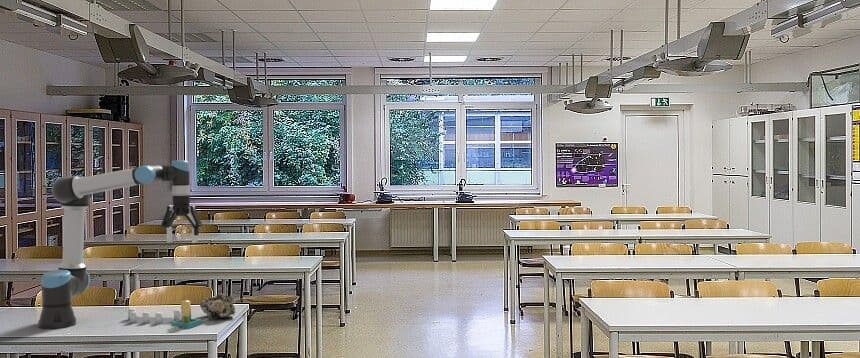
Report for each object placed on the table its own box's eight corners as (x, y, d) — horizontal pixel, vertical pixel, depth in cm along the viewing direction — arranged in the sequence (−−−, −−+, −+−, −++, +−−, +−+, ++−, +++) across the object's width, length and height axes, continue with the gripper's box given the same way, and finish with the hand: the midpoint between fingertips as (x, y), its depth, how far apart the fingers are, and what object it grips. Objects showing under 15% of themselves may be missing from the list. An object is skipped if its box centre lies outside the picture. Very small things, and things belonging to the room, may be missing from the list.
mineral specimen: (233, 313, 390) (233, 291, 389) (236, 320, 373) (236, 297, 373) (198, 315, 385) (198, 293, 385) (200, 322, 368) (200, 300, 368)
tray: (171, 327, 359) (171, 322, 359) (184, 322, 368) (184, 318, 368) (188, 328, 356) (188, 323, 356) (201, 324, 364) (201, 319, 364)
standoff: (179, 324, 361) (178, 302, 360) (185, 322, 364) (184, 300, 364) (187, 325, 359) (186, 302, 359) (193, 323, 363) (192, 300, 363)
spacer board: (117, 324, 365) (117, 312, 365) (134, 318, 379) (134, 306, 378) (170, 326, 360) (170, 314, 360) (186, 320, 374) (185, 308, 374)
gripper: (209, 194, 373) (210, 242, 374) (163, 194, 382) (164, 240, 382) (199, 195, 366) (200, 244, 367) (152, 195, 375) (153, 242, 375)
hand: (182, 242), depth 375 cm, fingers open, 13 cm apart
